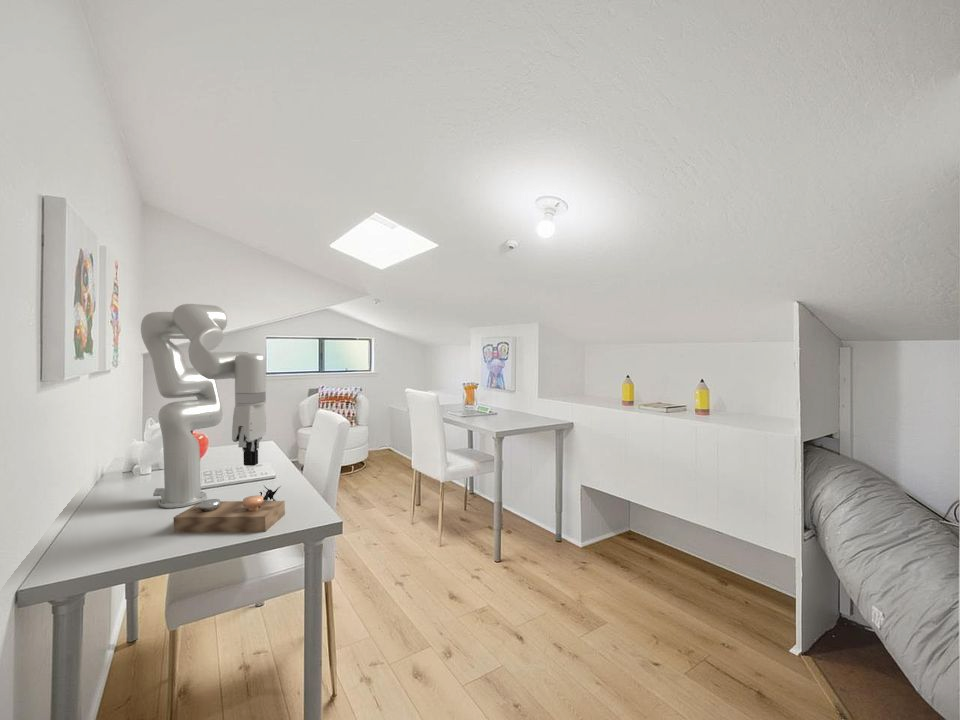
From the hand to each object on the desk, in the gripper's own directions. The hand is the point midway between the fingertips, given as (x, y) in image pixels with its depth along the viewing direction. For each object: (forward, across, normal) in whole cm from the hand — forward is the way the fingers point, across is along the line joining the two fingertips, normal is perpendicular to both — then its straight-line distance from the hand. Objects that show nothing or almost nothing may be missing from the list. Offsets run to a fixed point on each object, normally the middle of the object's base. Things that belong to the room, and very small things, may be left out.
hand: (250, 464), depth 125 cm
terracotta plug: (+15, +1, +1) cm, 15 cm away
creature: (+17, -15, -3) cm, 23 cm away
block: (+16, +1, -5) cm, 17 cm away
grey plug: (+16, +1, -11) cm, 19 cm away
